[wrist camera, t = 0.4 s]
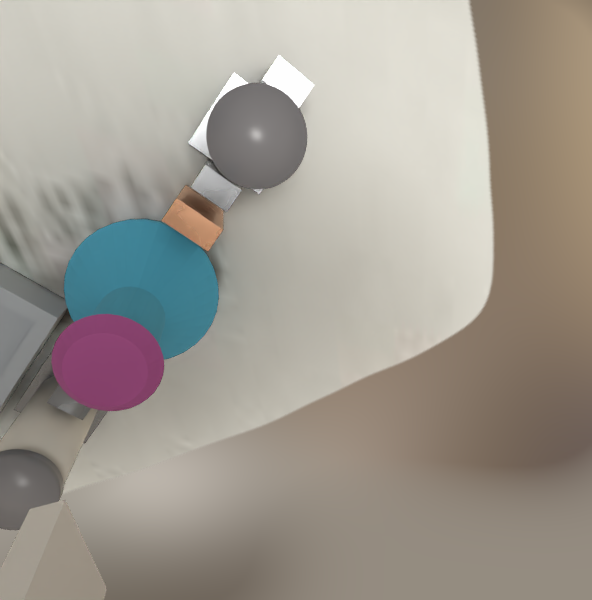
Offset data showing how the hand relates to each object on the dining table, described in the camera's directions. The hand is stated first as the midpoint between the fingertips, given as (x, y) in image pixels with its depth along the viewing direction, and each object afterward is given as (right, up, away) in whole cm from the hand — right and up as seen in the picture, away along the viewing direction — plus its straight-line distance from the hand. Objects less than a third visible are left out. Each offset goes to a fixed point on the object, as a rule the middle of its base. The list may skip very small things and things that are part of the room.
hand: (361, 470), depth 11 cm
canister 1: (-18, -3, +24) cm, 31 cm away
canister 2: (-5, +15, +20) cm, 25 cm away
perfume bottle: (-12, +6, +23) cm, 27 cm away
